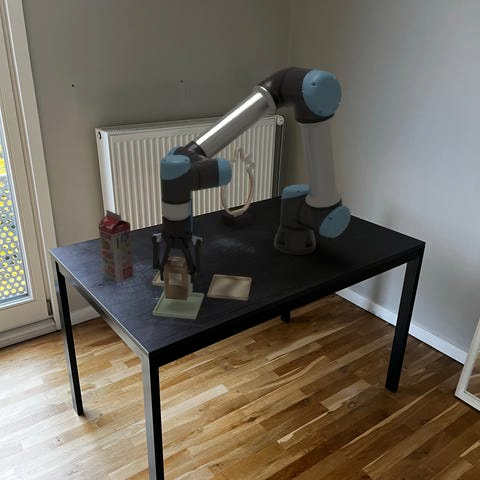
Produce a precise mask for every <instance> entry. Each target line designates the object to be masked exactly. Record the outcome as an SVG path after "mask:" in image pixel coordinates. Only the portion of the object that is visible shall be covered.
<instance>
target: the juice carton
mask: <svg viewBox="0 0 480 480" xmlns="http://www.w3.org/2000/svg"><path fill="white" fill-rule="evenodd" d="M105 211H106V215H105V216H104V217H103V218H102V219H100V220H99V222H98V233H99V242H100V244H99V245H100V252H101V262H102V272H103V273H102V274H103V278H105V279H106V280H108V281H109V280H110V281H113V282H114V283H116V284H117V283H120V282H121V281H122V282H123V281H124V280H126V279H129V278H131V277H132V276H134V274H135V273H134V272H135V271H134V258H133V244H132V234H131V223H130V222H128V221H127V220H124V219H122V216H121V215H120V214H117V213H115V212H113V211H110V210H109V209H106V210H105Z"/></svg>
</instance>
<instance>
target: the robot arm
mask: <svg viewBox="0 0 480 480" xmlns="http://www.w3.org/2000/svg"><path fill="white" fill-rule="evenodd" d="M342 96H343V95H342V86H341V84H340V82H339V79H338V78H337V77H336V76H335V75H334V74H332V73H331V72H329V71H325V70H322V69H311V68H304V67H297V66H290V67H289V66H287V67H285V68H282V69H279V70H277V71H275V72H274V73H272V74H270V75H269V76H267V77H266V78H265V79H263V80H261V81H260V82H259V83H258V84H257V85H255V86H254V87H253V89H252V92H251V94H250V95H248V96H246V97H245V98H244V99H243V100H242V101H241V102H239V103H238V104H236V106H234V107H233V108H231V109H230V110H229V111H228V112H226V113H225V114H224V115H222V117H220V118H219V119H218V120H216V121H215V122H214V123H212V124H211V125H210V126H209V127H208V128H206V129H205V130H203V131H202V132H201V133H200V134H199V135H197V136H196V137H195V138H193V140H191V141H190V142H188V143H187V144H186V145H185V146H184V145H182V146H181V145H177V146H174V147H172V148H171V149H170V150H169V151H168V153H167V155H166V156H163V157H162V158H161V160H160V164H159V165H160V166H159V167H160V168H159V178H160V193H161V195H160V199H161V215H162V217H161V221H162V222H161V224H162V225H161V227H162V231H161V232H160V233H158V232H154V233H153V235H152V236H151V241H152V244H153V248H152V250H153V251H152V254H153V255H152V259H153V260H152V268H153V269H154V270H158V271H159V270H160V280H161V281H164V286H163V291H164V293H165V278H164V266H165V264H166V263H167V261H168V259H169V257H170V254H171V252H172V249H179V250H181V252H182V254H183V258H185V260H186V263H187V265H188V268H189V272H188V274H187V276H188V295H191V293H193V285H194V284H195V283H196V280H197V274H199V273H201V272H202V270H203V266H204V265H203V255H202V242H203V237H202V236H196V235H194V234H193V233H192V232H191V216H190V214H191V192H192V193H193V192H196V191H197V192H198V191H202V190H208V189H215V188H219V187H220V188H221V187H222V186H224V185H226V186H227V185H229V184H230V182H231V181H232V177H233V168H231V165H230V164H231V162H230V163H229V162H228V160H226V159H227V158H225V157H216V156H217V155H218V154H219V153H221V151H223V150H224V149H226V148H227V147H228V146H230V145H231V144H232V143H234V141H235V140H237V139H238V138H239V137H241V136H242V135H243V134H244V133H245V132H247V131H248V130H249V129H251V128H253V126H254V125H256V124H258V122H259V121H261V120H262V119H264V117H265V116H266V115H268V114H269V115H273V114H274V113H276V112H277V111H278V110H281V109H284V108H290V109H293V114H294V121H295V123H297V124H298V125H299V126H300V128H301V129H300V130H301V137H302V144H303V145H302V146H303V154H304V161H305V168H306V169H305V170H306V177H307V178H306V179H307V184H292V185H288V186H286V187H284V189H283V190H282V194H281V198H280V199H281V204H280V225H279V228H278V229H277V232H276V234H275V237H274V240H273V246H274V248H275V250H277V251H278V252H280V253H282V254H286V255H290V256H305V255H309V254H312V253H313V252H314V251H315V250H316V237H315V234H314V233H316V234H318V235H321V236H323V237H326V238H329V239H335V238H337V237H338V236H340V235H341V234H342V233H344V231H345V230H346V228H347V227H348V225H349V223H350V221H351V216H352V215H351V210H350V208H349V207H347V205H345V204H344V205H343V200H342V199H343V198H342V194H341V193H342V192H340V191H339V190H337V185H336V184H337V183H336V176H335V175H336V172H335V161H334V151H333V150H334V149H333V142H332V141H333V140H332V128H331V127H332V126H331V120H332V119H333V118H334V117H335V113H336V111H337V110H338V108H339V107H340V104H339V103H340V102H342ZM214 157H215V158H214ZM162 240H163V241H164V242H165V244H166V246H165V251H164V254H163V257H162V260H161V241H162ZM191 241H192V244H193V245H194V256H195V257H194V258H193V256H192V252H191V249H190V245H189V244H190V242H191ZM194 259H195V261H194ZM160 260H161V262H160ZM196 273H197V274H196Z"/></svg>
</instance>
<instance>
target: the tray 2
mask: <svg viewBox="0 0 480 480" xmlns="http://www.w3.org/2000/svg"><path fill="white" fill-rule="evenodd" d="M204 297H205V293H203V292H202V293H201V292H192V293H191V295H189V296H188V298H187V301H185V300H175V299H165V293H164V290H163V291H162V294H161V295H160V297H159V299H158V301H157V303H156V305H155V307H154V308H153V311H152V316H155V317H156V316H157V317H165V318H166V317H167V318H177V319H185V320H186V319H187V320H196V319H197V316H198V313H199V311H200V308H201V305H202V303H203V300H204Z"/></svg>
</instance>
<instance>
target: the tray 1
mask: <svg viewBox="0 0 480 480" xmlns="http://www.w3.org/2000/svg"><path fill="white" fill-rule="evenodd" d="M197 274H198V272H197V273H196V275H197ZM151 285H152V286H157V287H158V286H159V287H164V281H161V280H160V270H158V271H157V272H156V274H155V276H154V278H153V280H152V281H151Z"/></svg>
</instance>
